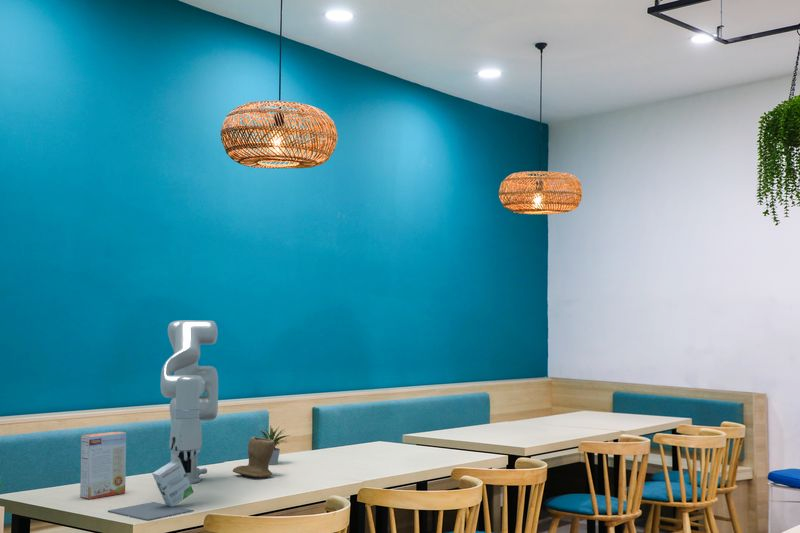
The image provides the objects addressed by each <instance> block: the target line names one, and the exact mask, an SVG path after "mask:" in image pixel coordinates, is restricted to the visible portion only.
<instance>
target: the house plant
mask: <svg viewBox="0 0 800 533" xmlns="http://www.w3.org/2000/svg"><path fill="white" fill-rule="evenodd" d="M279 428H280V426H278V427H277V428H276V429H275V430H274V428H273V427H272V425H270V427H269V431H268V430H267V429H266V428H264V429H262V430H260V433H261V434H262V438H265V439H270V440H273V441H274V443H275V447H274V451H273V454H272V457H271V459H270V461H269V464H268V466H276V465H278V462H279V456H280V451H281V449H280V448H276V446H277V447H278V446H279V445H280V444H281V443H287V441H288V439H283V438H286V437H287V435H282V434H283V433H285V429H284V428H283V429H281V430H280V431H279V432H278V429H279ZM264 430H265V431H264ZM277 432H278V433H277ZM276 433H277V435H276ZM280 435H282V436H280ZM288 437H291V435H288ZM281 439H283V440H281ZM286 440H287V441H286Z"/></svg>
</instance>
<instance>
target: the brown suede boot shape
mask: <svg viewBox="0 0 800 533" xmlns="http://www.w3.org/2000/svg"><path fill="white" fill-rule="evenodd" d="M274 447H275V448H276V446H275V443H274V439H273V440H270V439H266V438H264V437H260V436H258V437H257V436H251V437H250V439H249V440H248V445H247V455H248V465H238V466H236V467H234V468H233V469H232V472H233V473H235V474H238V475H243V476H246V477H249V478H266V477H267V478H268V477H271V476H273V474H274V473H273V472H272V471H271V470H270V469H269V465H268V464H269V461H270V459H271V457H272V454H273V451H274Z"/></svg>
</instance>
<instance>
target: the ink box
mask: <svg viewBox="0 0 800 533" xmlns="http://www.w3.org/2000/svg"><path fill="white" fill-rule="evenodd" d="M152 477H153V479H154V481H155V484H156V486H157V488H158V490H159V493H160V495H161V497H162V500H163V501H164V504H166V505H168V506H171V507H173V506H177V505H178V504H180V502H182V501H183V500H185V499H186V498H188V497H189V496H191V495H192V494H194V492H195V491H194V489H193V486H192V483H191V484H190V482H189V479H188V477H187V475H186V472H185V470H184V468H183V465H182V463H181V462H180V461H177V460H173V461H171V460H170V461H169V462H168V463H167V464H164V465H162V466H161V467H160V468H158V469H157V470H155V471H154V472H152Z"/></svg>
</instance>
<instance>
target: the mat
mask: <svg viewBox="0 0 800 533" xmlns="http://www.w3.org/2000/svg"><path fill="white" fill-rule="evenodd" d="M191 511H193V512H194V511H195V510H194V509H190V508H185V507H180V506H177V505H175V506H173V507H171V506H168V505H166V504H165V503H161V502H156V501H151V502H145V503H142V504H136V505H129V506H125V507H120V508H114V509H109V510H107V513H111V514H116V515H121V516H125V517H128V516H129V518H134V519H137V520H143V521H153V520H154V521H155V520H158V518H159V519H163V518H162V517H164V518H167V517H168V516H169V517H173V516H177V514H178V515H182V514H181V513H183V514H186V513H187V512H188V513H192V512H191ZM172 515H173V516H172ZM169 517H168V518H169Z"/></svg>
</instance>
